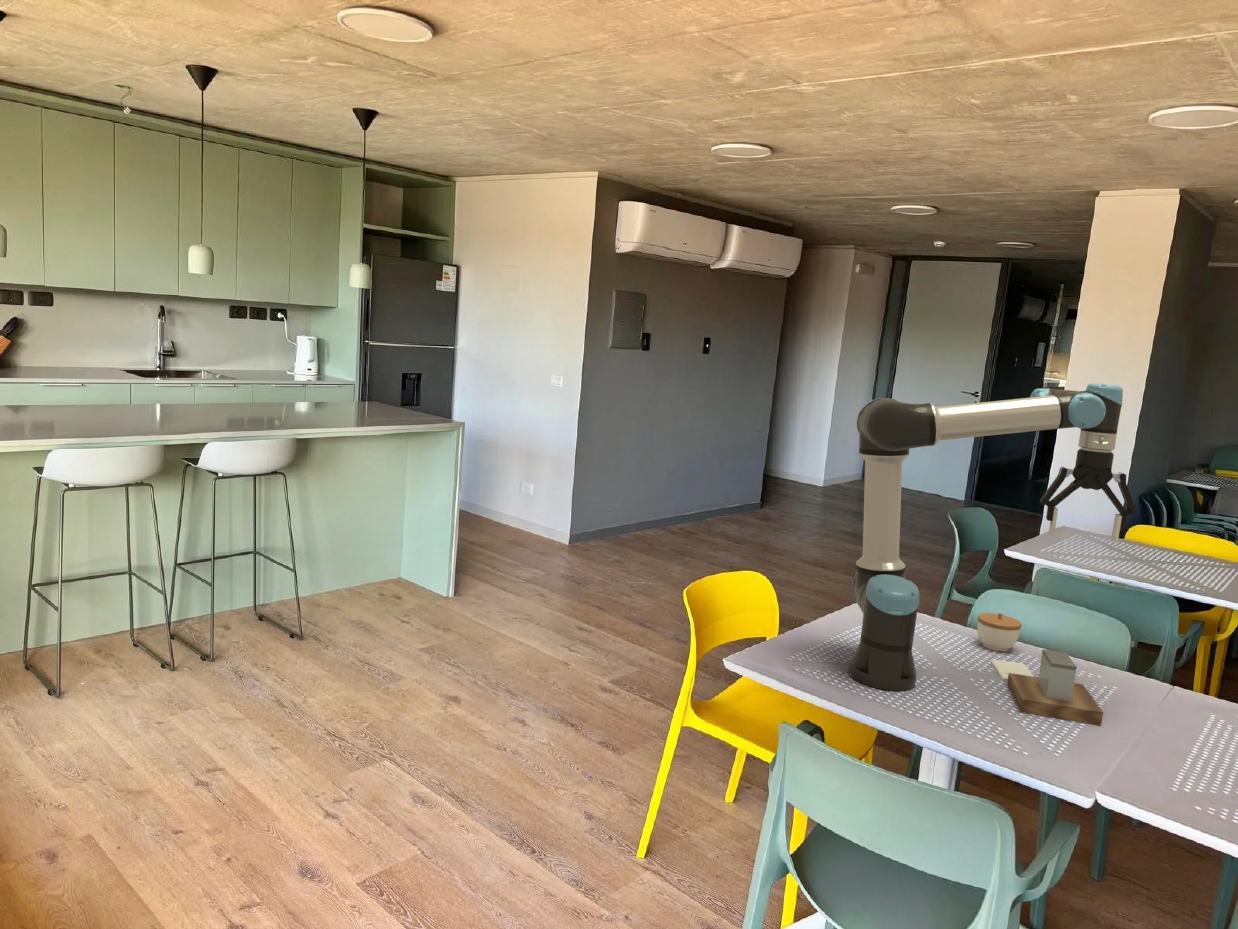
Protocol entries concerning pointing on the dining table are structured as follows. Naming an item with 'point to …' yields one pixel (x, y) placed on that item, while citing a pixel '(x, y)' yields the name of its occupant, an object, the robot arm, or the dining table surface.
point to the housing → (1056, 675)
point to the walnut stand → (1053, 701)
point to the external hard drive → (1009, 669)
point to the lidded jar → (998, 631)
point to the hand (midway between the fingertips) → (1082, 538)
